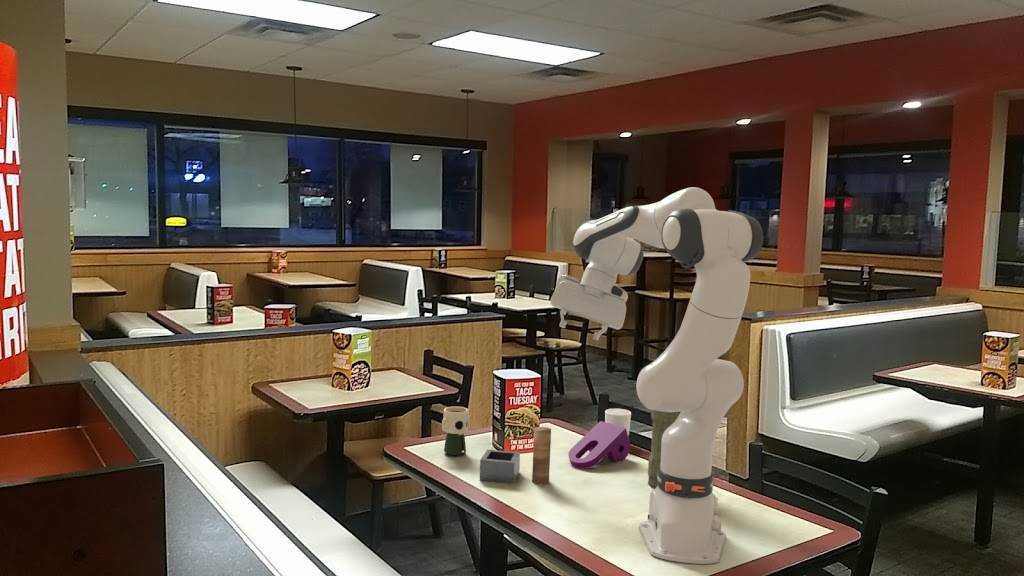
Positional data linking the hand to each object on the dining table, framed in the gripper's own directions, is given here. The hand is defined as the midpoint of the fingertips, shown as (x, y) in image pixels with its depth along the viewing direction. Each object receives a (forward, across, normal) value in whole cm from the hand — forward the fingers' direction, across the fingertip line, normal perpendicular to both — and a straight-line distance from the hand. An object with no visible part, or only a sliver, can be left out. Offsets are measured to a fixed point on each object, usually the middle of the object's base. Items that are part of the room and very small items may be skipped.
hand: (578, 333), depth 203 cm
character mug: (+42, -23, +20) cm, 52 cm away
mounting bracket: (+30, +15, +25) cm, 41 cm away
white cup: (+22, +18, +42) cm, 51 cm away
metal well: (+42, -7, +6) cm, 43 cm away
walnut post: (+39, +4, +5) cm, 40 cm away
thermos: (+29, +34, +10) cm, 46 cm away
